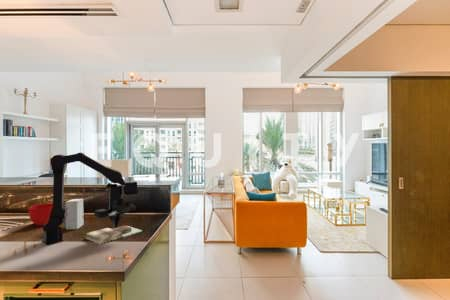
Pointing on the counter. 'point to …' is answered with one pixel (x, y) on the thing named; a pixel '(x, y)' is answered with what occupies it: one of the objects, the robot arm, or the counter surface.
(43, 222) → the ceramic cup
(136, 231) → the sage mat
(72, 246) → the counter surface
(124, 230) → the walnut tile
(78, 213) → the skincare box
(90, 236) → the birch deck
